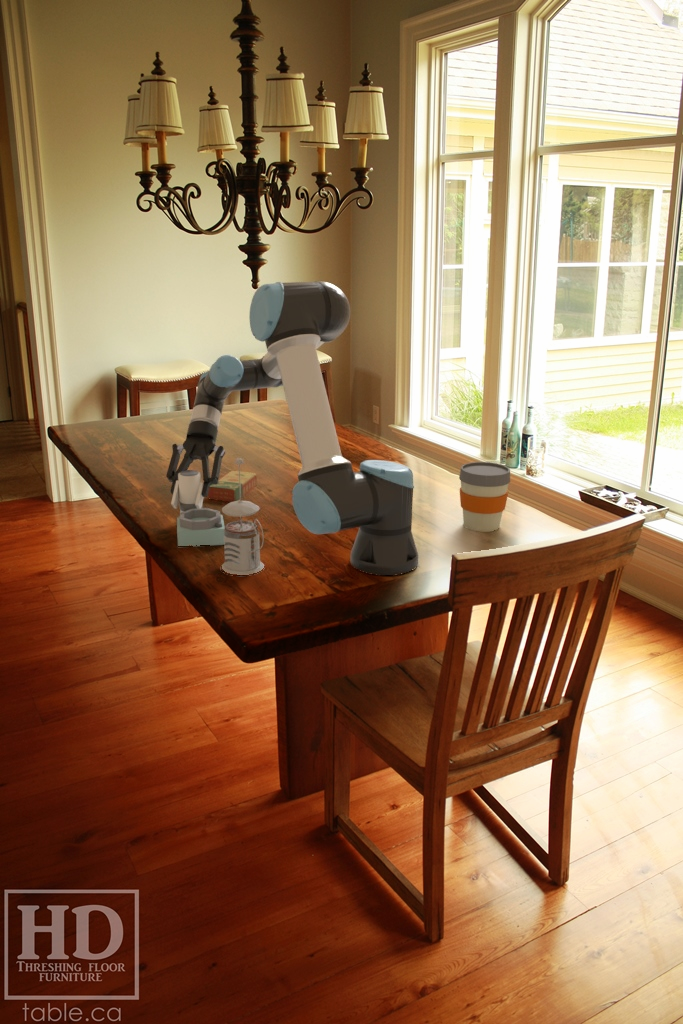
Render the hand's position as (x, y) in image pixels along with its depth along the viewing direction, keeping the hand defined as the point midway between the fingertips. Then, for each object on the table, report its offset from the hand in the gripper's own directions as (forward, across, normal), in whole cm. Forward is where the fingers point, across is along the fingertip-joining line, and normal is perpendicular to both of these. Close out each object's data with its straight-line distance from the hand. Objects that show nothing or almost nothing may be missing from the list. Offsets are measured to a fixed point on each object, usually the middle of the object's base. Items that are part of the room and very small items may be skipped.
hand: (186, 506), depth 207 cm
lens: (0, 0, -5) cm, 5 cm away
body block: (+8, -6, 0) cm, 10 cm away
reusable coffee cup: (-7, -72, -16) cm, 74 cm away
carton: (-17, -3, -26) cm, 31 cm away
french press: (+20, -21, +11) cm, 31 cm away
